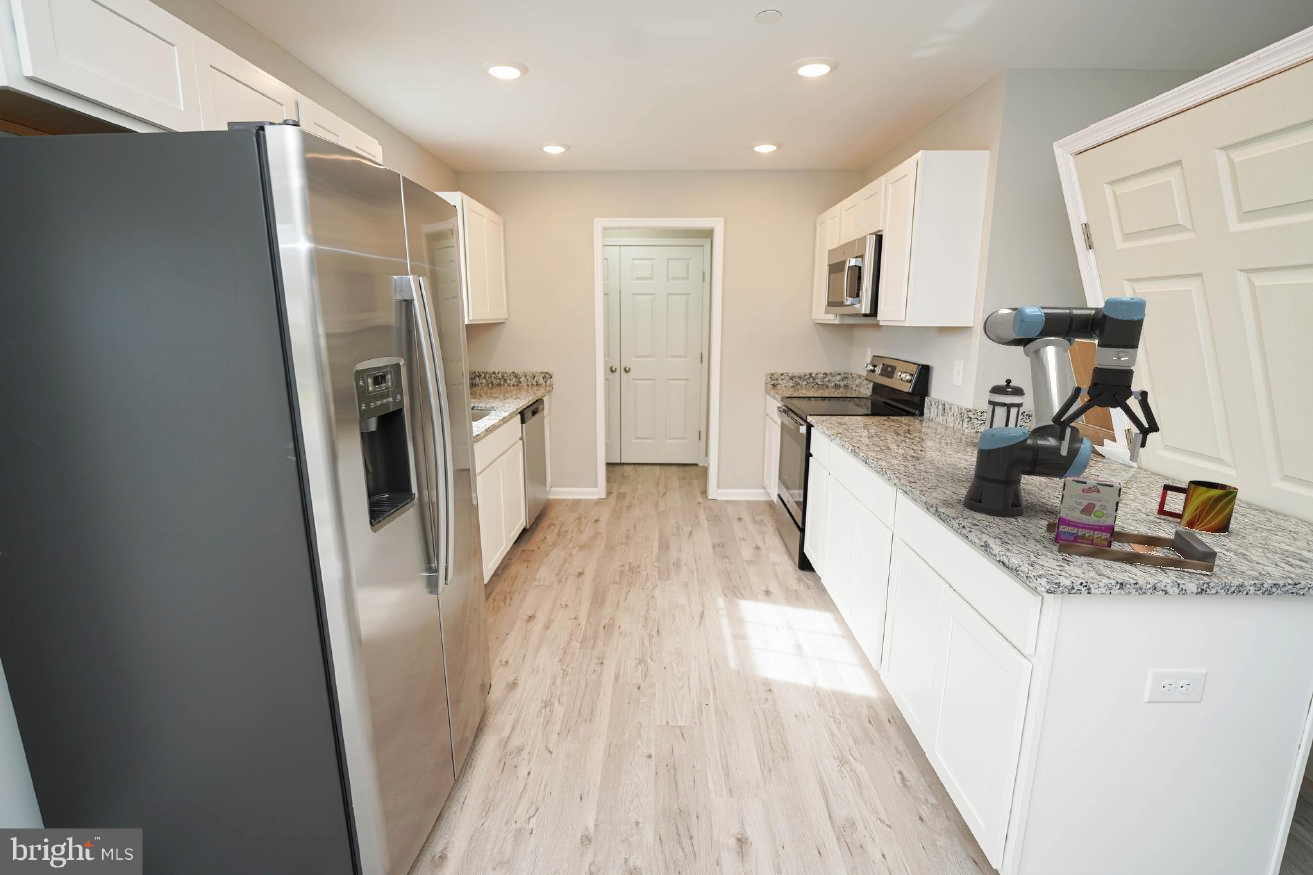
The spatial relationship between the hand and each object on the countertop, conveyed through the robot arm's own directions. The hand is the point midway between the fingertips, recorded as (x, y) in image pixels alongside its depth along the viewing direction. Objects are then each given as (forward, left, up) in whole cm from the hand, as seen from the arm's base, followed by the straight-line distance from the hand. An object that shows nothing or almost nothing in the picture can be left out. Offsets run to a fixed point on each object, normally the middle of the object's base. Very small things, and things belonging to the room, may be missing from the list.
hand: (1097, 457), depth 139 cm
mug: (+31, +30, -22) cm, 49 cm away
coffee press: (-7, +109, -22) cm, 112 cm away
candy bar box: (0, 0, -22) cm, 22 cm away
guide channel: (+8, 0, -22) cm, 23 cm away
